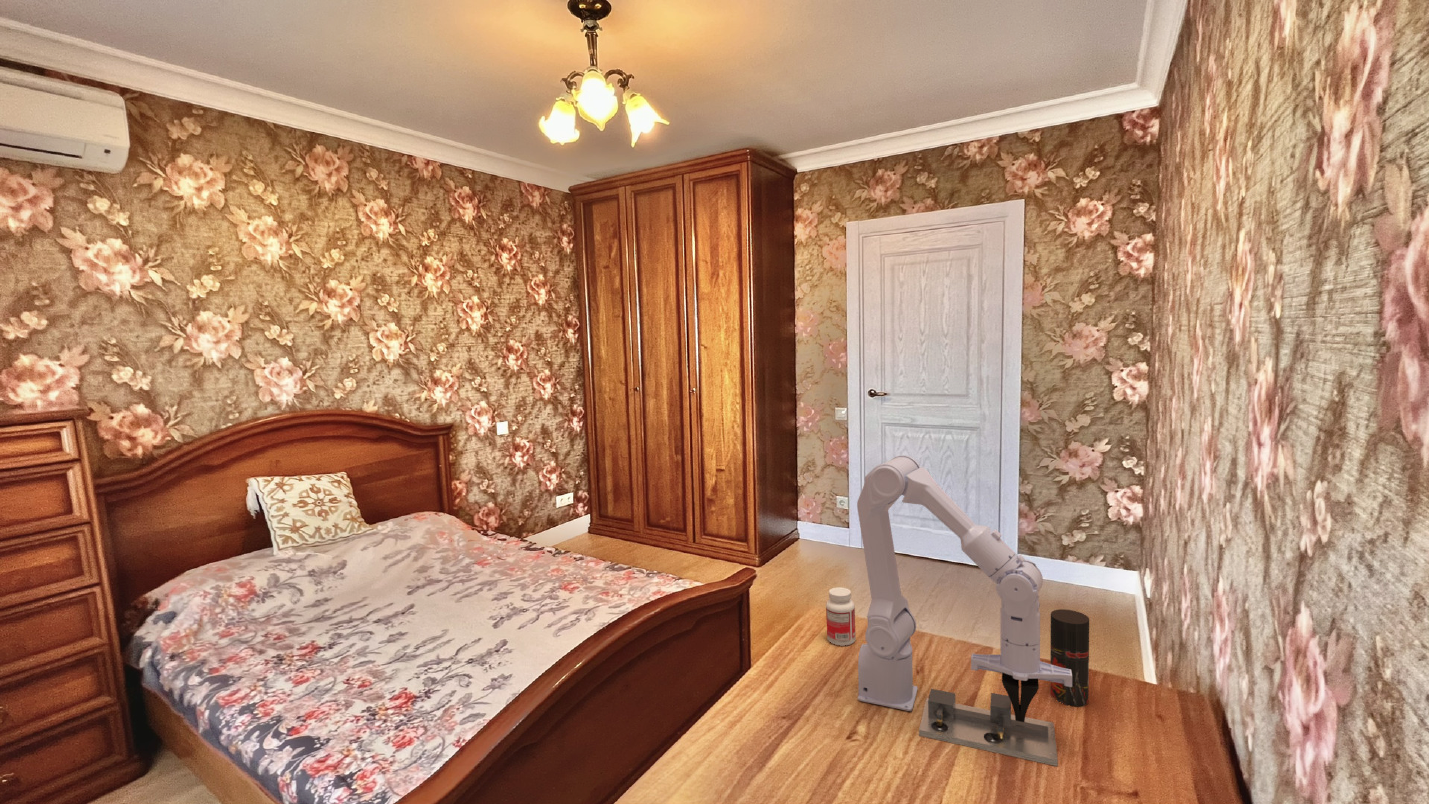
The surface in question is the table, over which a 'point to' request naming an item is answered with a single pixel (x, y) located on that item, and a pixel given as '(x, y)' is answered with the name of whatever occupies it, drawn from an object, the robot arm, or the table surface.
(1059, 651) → the deodorant
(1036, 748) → the hole plate
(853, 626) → the pill bottle
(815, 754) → the table surface
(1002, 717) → the sliding leg
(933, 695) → the beam
